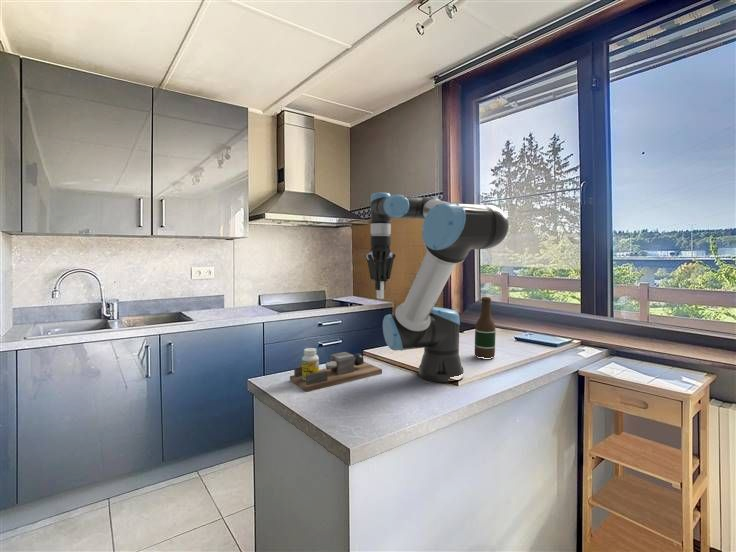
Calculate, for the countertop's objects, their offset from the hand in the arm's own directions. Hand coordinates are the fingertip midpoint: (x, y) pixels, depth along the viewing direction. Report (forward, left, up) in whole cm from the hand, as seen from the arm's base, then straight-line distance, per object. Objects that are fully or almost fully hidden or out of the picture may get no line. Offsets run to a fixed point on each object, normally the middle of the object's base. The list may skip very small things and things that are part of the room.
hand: (380, 298), depth 146 cm
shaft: (-5, +19, -22) cm, 30 cm away
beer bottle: (-19, -38, -25) cm, 49 cm away
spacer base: (-5, +22, -24) cm, 33 cm away
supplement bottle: (-5, +32, -23) cm, 40 cm away
